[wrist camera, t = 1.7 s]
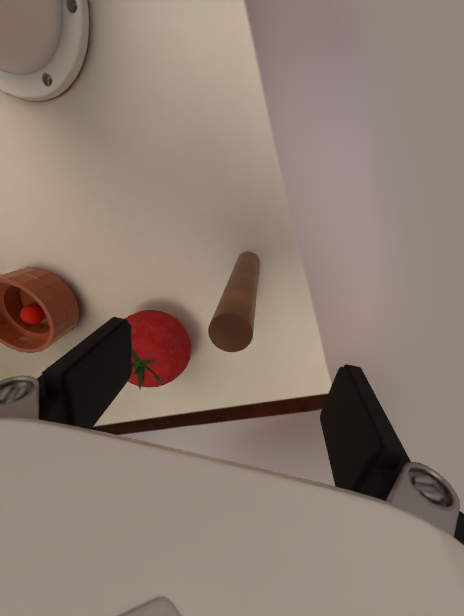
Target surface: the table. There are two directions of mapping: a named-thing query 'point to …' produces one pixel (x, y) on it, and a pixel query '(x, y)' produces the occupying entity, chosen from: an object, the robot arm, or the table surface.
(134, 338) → the tomato
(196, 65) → the table surface
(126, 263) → the table surface
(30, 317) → the cherry tomato
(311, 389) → the table surface
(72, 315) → the bowl
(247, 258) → the stirring stick
